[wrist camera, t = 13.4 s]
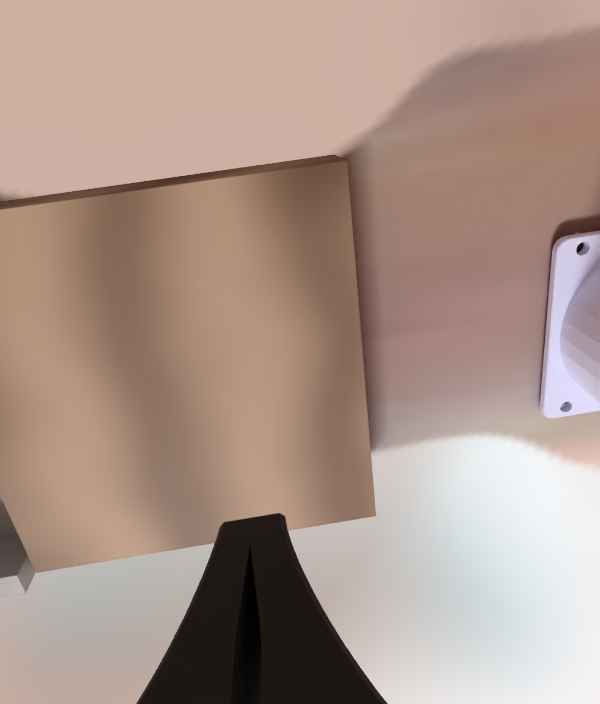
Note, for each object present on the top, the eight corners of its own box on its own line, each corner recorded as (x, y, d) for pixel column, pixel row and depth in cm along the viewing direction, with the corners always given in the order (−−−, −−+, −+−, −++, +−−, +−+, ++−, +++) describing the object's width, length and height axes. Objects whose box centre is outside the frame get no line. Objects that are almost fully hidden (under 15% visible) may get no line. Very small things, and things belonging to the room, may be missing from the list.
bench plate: (333, 154, 18) (347, 160, 16) (363, 477, 24) (375, 516, 22) (-78, 212, 18) (-125, 227, 15) (56, 528, 24) (36, 572, 21)
